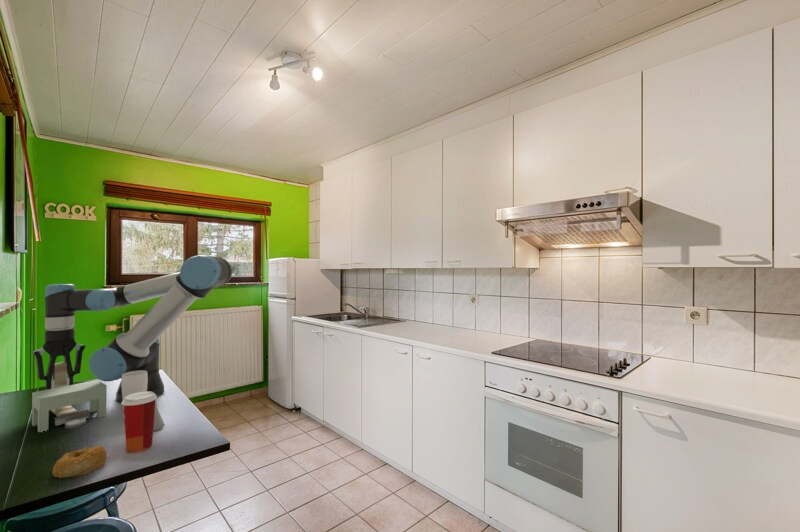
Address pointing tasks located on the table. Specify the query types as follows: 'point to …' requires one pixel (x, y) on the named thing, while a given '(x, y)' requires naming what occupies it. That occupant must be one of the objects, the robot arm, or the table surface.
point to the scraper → (61, 381)
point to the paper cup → (139, 420)
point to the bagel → (80, 462)
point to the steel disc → (75, 422)
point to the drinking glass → (134, 382)
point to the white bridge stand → (67, 400)
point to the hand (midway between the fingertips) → (59, 397)
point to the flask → (157, 419)
